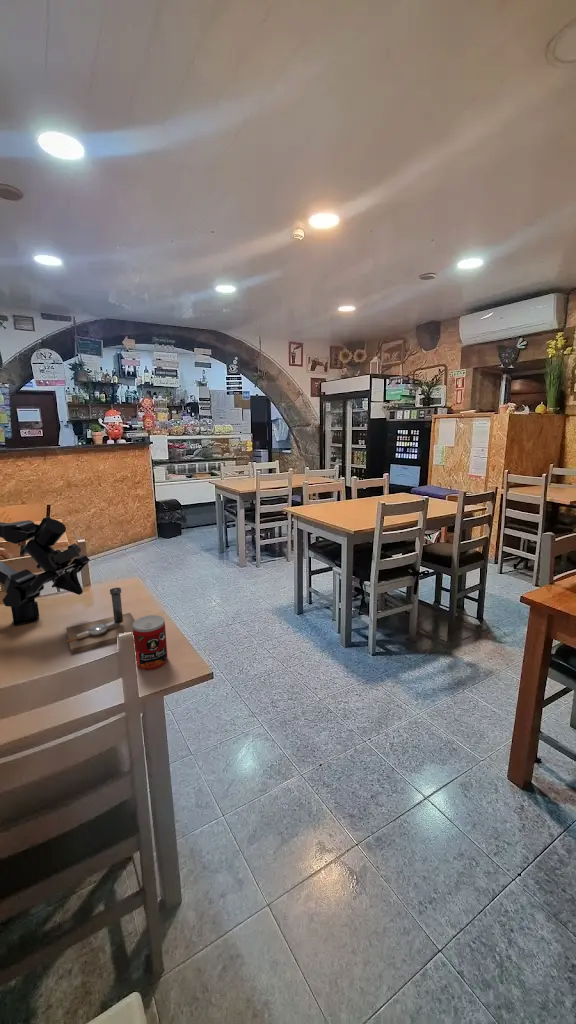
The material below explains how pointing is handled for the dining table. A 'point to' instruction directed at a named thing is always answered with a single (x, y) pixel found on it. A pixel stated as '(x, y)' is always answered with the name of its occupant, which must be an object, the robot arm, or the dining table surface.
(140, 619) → the canned food
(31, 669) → the dining table surface
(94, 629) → the crank handle
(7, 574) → the robot arm
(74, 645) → the stand
